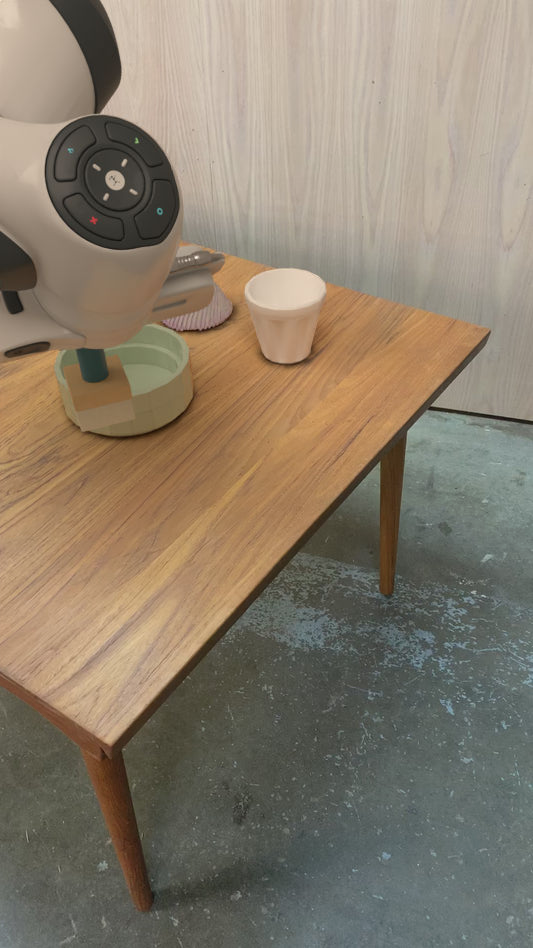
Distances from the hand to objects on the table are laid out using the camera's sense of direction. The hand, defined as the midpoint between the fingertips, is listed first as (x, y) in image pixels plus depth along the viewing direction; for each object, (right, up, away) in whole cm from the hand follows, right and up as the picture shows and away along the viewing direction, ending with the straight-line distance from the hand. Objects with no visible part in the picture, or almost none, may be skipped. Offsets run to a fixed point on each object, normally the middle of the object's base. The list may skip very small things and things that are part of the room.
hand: (85, 335), depth 68 cm
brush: (+1, -6, +5) cm, 8 cm away
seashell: (+6, +10, +40) cm, 41 cm away
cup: (+18, +3, +32) cm, 37 cm away
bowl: (-1, -3, +25) cm, 26 cm away
